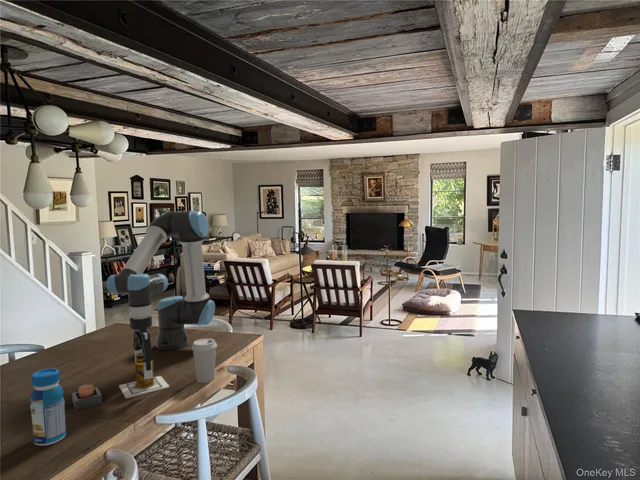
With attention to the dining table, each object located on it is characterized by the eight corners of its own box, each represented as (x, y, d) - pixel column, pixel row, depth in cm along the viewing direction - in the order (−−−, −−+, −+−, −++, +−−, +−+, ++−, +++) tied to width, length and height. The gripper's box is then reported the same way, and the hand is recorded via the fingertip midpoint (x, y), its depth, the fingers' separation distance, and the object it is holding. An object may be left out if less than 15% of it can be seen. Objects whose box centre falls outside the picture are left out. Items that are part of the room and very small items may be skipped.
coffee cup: (208, 386, 161) (207, 346, 160) (187, 382, 165) (185, 344, 163) (223, 376, 170) (221, 339, 169) (202, 373, 174) (201, 336, 172)
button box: (98, 395, 155) (97, 387, 155) (101, 403, 148) (101, 394, 148) (72, 401, 150) (72, 392, 150) (75, 410, 144) (74, 401, 144)
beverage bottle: (62, 444, 123) (57, 376, 122) (28, 449, 121) (23, 379, 119) (70, 429, 131) (66, 365, 130) (38, 434, 129) (33, 368, 127)
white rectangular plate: (160, 377, 170) (160, 375, 170) (169, 387, 161) (169, 385, 160) (119, 387, 162) (119, 385, 162) (125, 398, 152) (125, 396, 152)
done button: (93, 391, 152) (92, 383, 152) (95, 395, 149) (94, 387, 148) (78, 394, 150) (77, 386, 150) (79, 399, 146) (79, 390, 146)
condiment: (146, 390, 157) (144, 357, 156) (127, 387, 160) (125, 355, 159) (159, 382, 164) (158, 351, 163) (141, 379, 167) (139, 349, 166)
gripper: (122, 311, 167) (125, 364, 169) (137, 326, 147) (141, 386, 149) (143, 308, 171) (146, 360, 173) (160, 322, 151) (163, 381, 153)
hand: (143, 372), depth 161 cm, fingers open, 13 cm apart
